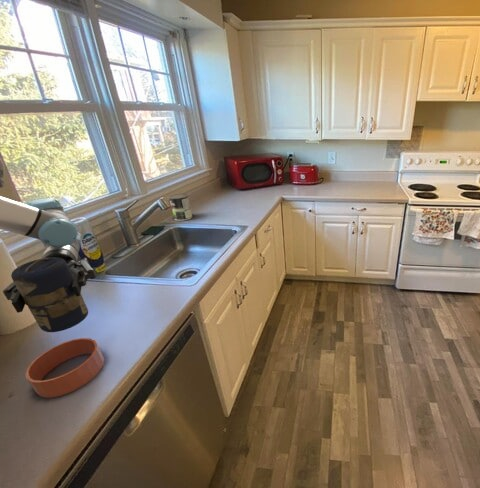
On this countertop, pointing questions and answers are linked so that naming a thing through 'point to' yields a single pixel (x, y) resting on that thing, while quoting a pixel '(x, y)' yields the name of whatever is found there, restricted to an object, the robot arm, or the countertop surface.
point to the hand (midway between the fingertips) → (47, 299)
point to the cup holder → (71, 378)
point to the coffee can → (180, 207)
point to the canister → (50, 293)
